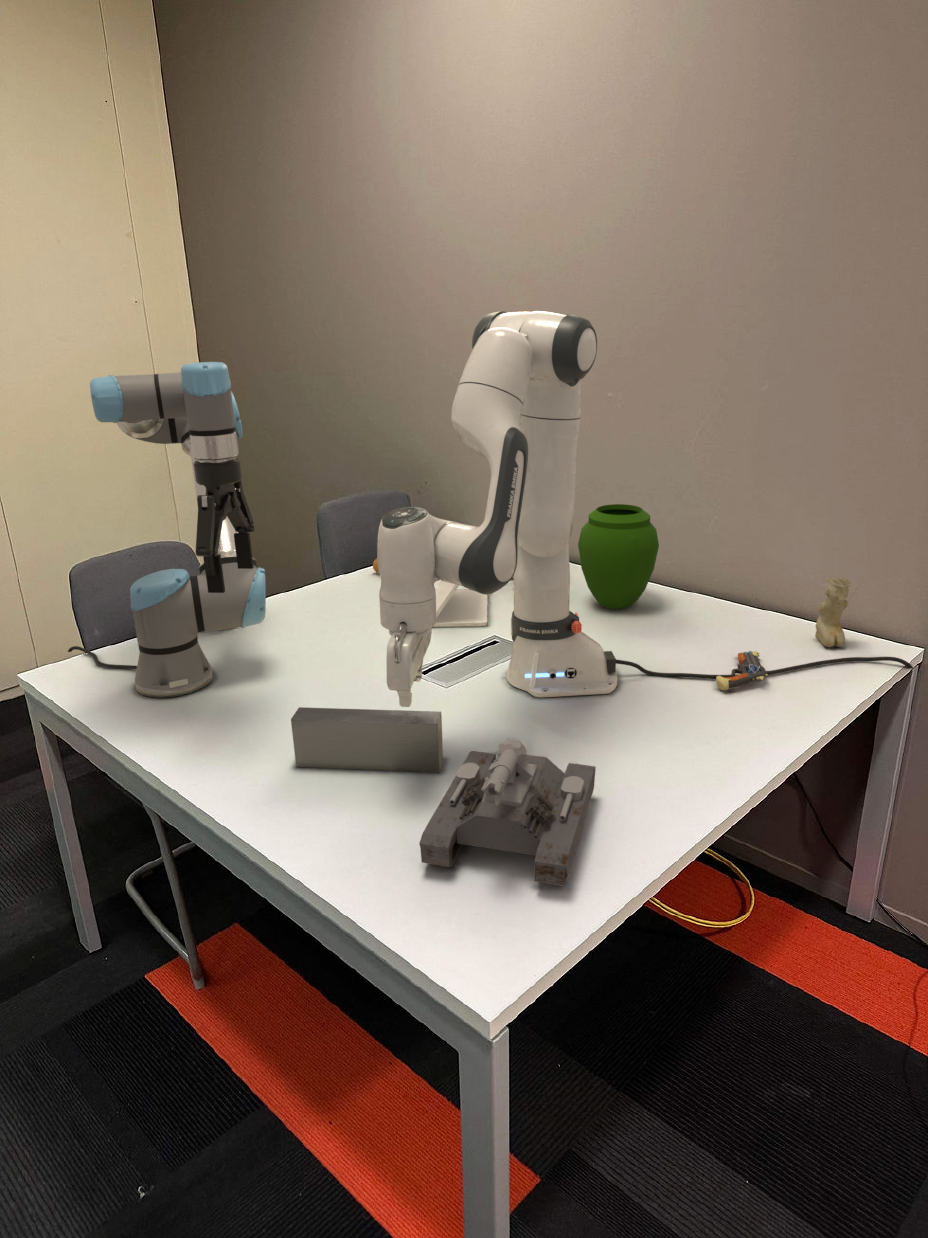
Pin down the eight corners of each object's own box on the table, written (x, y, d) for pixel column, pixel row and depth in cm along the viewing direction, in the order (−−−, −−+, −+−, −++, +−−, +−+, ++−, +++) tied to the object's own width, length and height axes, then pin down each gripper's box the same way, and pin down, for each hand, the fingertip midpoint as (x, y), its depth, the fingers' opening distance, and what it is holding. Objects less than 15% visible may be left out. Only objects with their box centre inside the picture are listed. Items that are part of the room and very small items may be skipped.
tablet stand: (487, 591, 226) (486, 529, 220) (487, 625, 203) (486, 557, 197) (419, 593, 227) (416, 530, 221) (411, 627, 204) (407, 558, 198)
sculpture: (821, 649, 184) (830, 583, 179) (808, 637, 191) (816, 573, 185) (848, 649, 184) (858, 582, 179) (834, 636, 191) (843, 572, 185)
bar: (443, 759, 145) (441, 711, 142) (439, 772, 141) (437, 724, 138) (303, 753, 148) (298, 707, 145) (296, 767, 144) (290, 719, 141)
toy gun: (718, 681, 165) (772, 678, 163) (709, 649, 183) (758, 646, 181) (718, 694, 166) (772, 691, 164) (710, 661, 184) (758, 658, 181)
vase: (599, 587, 227) (601, 497, 218) (668, 600, 216) (673, 505, 208) (562, 608, 212) (564, 513, 204) (634, 623, 202) (639, 523, 193)
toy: (472, 777, 139) (469, 694, 134) (595, 793, 134) (597, 707, 128) (420, 872, 116) (414, 776, 111) (565, 897, 111) (567, 797, 106)
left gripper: (223, 446, 155) (237, 558, 162) (161, 473, 132) (181, 603, 139) (263, 446, 154) (275, 559, 161) (207, 473, 131) (225, 603, 138)
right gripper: (416, 637, 124) (419, 722, 129) (437, 592, 143) (439, 667, 148) (374, 636, 125) (378, 720, 130) (400, 591, 144) (403, 666, 148)
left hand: (232, 579), depth 150 cm, fingers open, 13 cm apart
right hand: (411, 692), depth 139 cm, fingers open, 8 cm apart
